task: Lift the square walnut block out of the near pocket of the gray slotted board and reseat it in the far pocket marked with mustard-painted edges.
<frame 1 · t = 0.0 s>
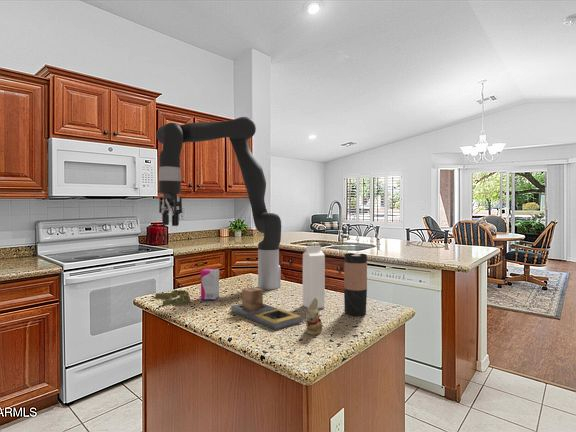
hand: (170, 225, 127), 29 cm above the table, tool pointing down, fingers open, 8 cm apart
supplement box: (210, 299, 138), on the table
chocolate bunny: (314, 331, 102), on the table
milk: (313, 306, 128), on the table
cookie cutter: (174, 301, 137), on the table
gray slotted board: (264, 316, 115), on the table
travel mug: (355, 313, 120), on the table
nut block: (252, 312, 120), resting in gray slotted board
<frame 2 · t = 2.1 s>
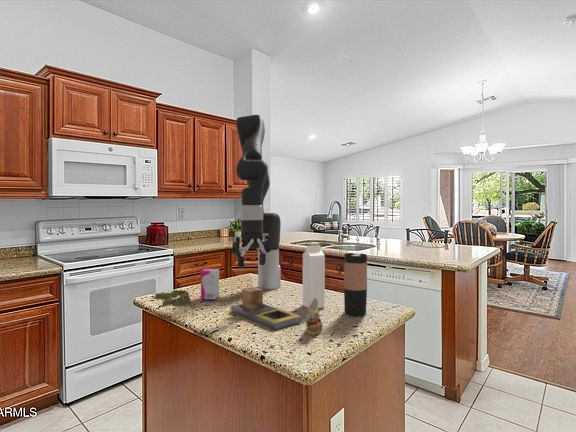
hand: (251, 266, 120), 16 cm above the table, tool pointing down, fingers open, 8 cm apart
nothing on the table moved.
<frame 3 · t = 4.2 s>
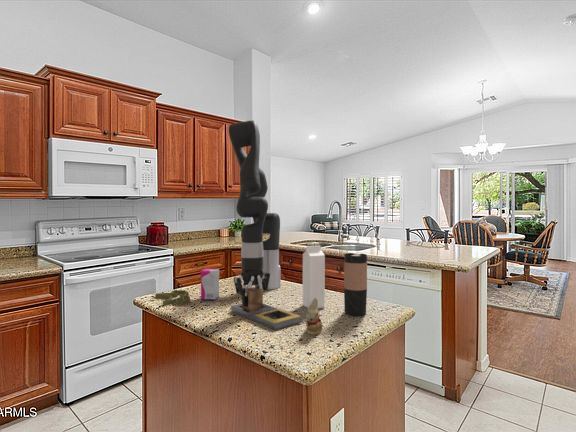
hand: (252, 304, 120), 3 cm above the table, tool pointing down, fingers closed on nut block, 5 cm apart
nut block: (252, 312, 120), resting in gray slotted board, touching gripper
everything else where it was.
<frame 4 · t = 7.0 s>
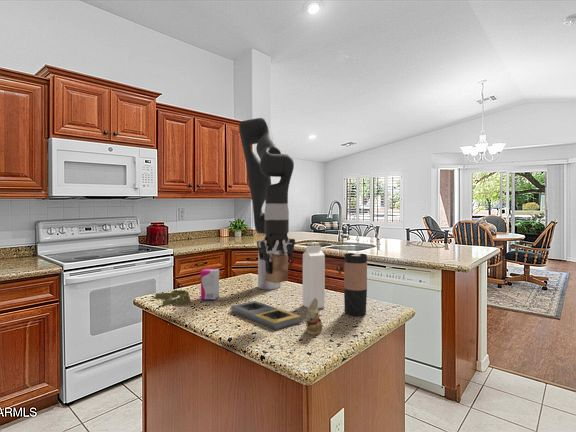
hand: (276, 272, 110), 16 cm above the table, tool pointing down, fingers closed on nut block, 5 cm apart
nut block: (276, 280, 110), point 13 cm above the table, touching gripper
everything else where it was.
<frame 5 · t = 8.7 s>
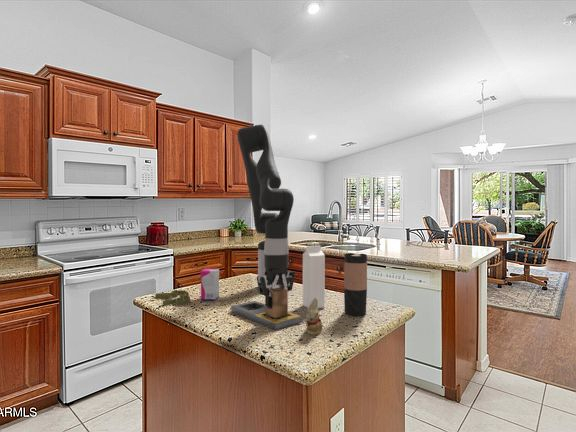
hand: (276, 306, 110), 5 cm above the table, tool pointing down, fingers closed on nut block, 5 cm apart
nut block: (276, 314, 110), point 2 cm above the table, touching gripper
everything else where it was.
when the fingers open (4 cm above the table, at t = 9.9 s): nut block drops 1 cm, resting in gray slotted board.
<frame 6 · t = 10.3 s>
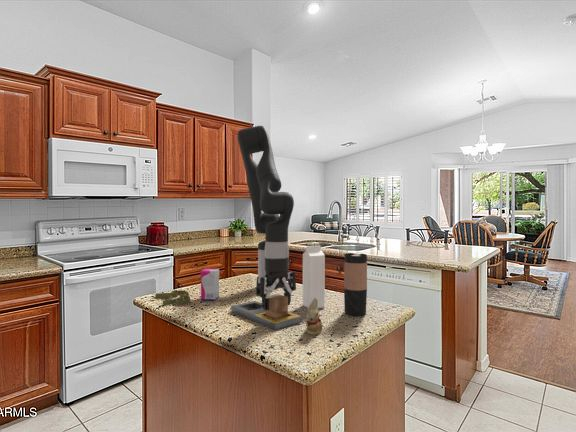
hand: (276, 307, 110), 5 cm above the table, tool pointing down, fingers open, 8 cm apart
nut block: (276, 321, 111), resting in gray slotted board
everything else where it was.
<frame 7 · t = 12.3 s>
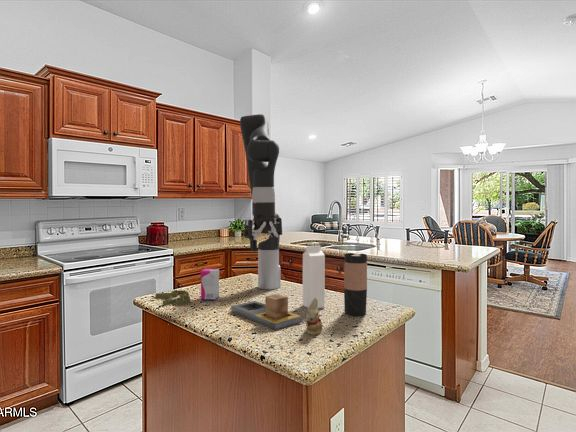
hand: (264, 249, 118), 22 cm above the table, tool pointing down, fingers open, 8 cm apart
nothing on the table moved.
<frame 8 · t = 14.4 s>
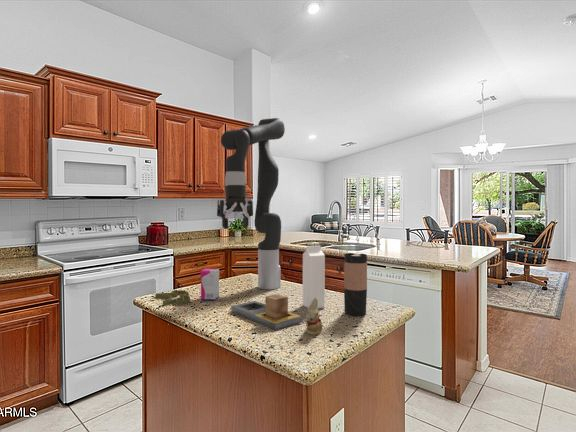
hand: (235, 228, 131), 28 cm above the table, tool pointing down, fingers open, 8 cm apart
nothing on the table moved.
at the end: nut block 0.0 cm from the target spot on the gray slotted board, point 0.0 cm above the gray slotted board's base; nut block tilted 0°; the gripper is holding nothing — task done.
